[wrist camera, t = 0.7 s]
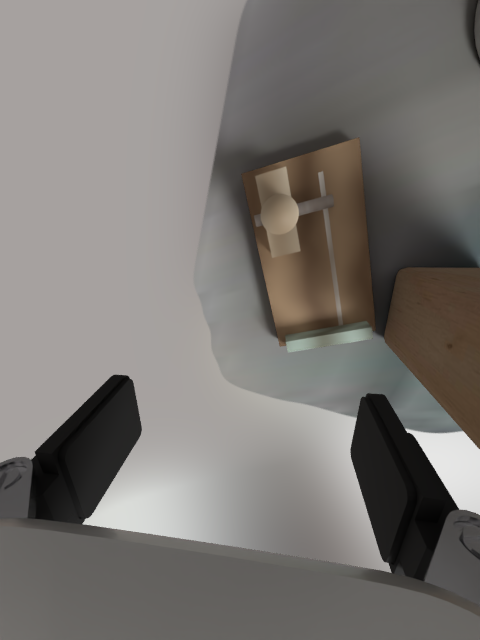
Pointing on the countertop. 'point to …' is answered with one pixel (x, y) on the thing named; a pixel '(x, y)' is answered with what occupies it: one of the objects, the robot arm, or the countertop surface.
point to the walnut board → (320, 252)
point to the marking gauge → (283, 211)
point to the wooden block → (440, 337)
